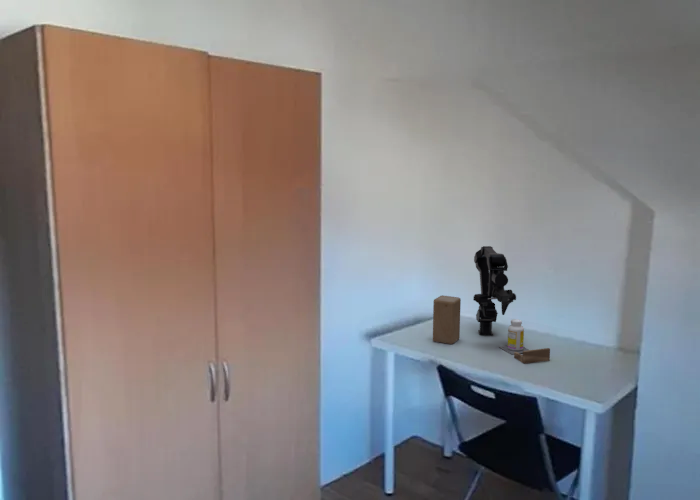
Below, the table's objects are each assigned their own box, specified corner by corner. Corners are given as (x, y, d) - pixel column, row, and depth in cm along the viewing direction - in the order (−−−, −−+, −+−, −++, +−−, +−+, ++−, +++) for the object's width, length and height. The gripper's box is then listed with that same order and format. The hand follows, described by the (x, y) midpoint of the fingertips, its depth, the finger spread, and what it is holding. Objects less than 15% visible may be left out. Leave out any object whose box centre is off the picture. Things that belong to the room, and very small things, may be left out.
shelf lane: (514, 357, 253) (514, 346, 252) (539, 354, 257) (539, 343, 256) (523, 363, 246) (524, 351, 245) (549, 360, 250) (550, 348, 249)
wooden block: (452, 345, 270) (453, 301, 266) (431, 341, 275) (432, 299, 271) (460, 339, 278) (461, 297, 275) (439, 335, 283) (440, 294, 280)
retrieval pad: (499, 347, 266) (499, 346, 266) (518, 345, 269) (518, 344, 269) (511, 354, 257) (511, 353, 256) (532, 352, 260) (532, 351, 259)
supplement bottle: (520, 346, 266) (522, 318, 264) (525, 351, 260) (526, 322, 257) (505, 346, 266) (506, 318, 264) (509, 351, 260) (510, 322, 258)
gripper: (486, 287, 257) (485, 322, 259) (524, 284, 262) (522, 318, 265) (473, 281, 267) (472, 315, 270) (509, 279, 273) (508, 312, 275)
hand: (494, 315), depth 270 cm, fingers open, 9 cm apart
